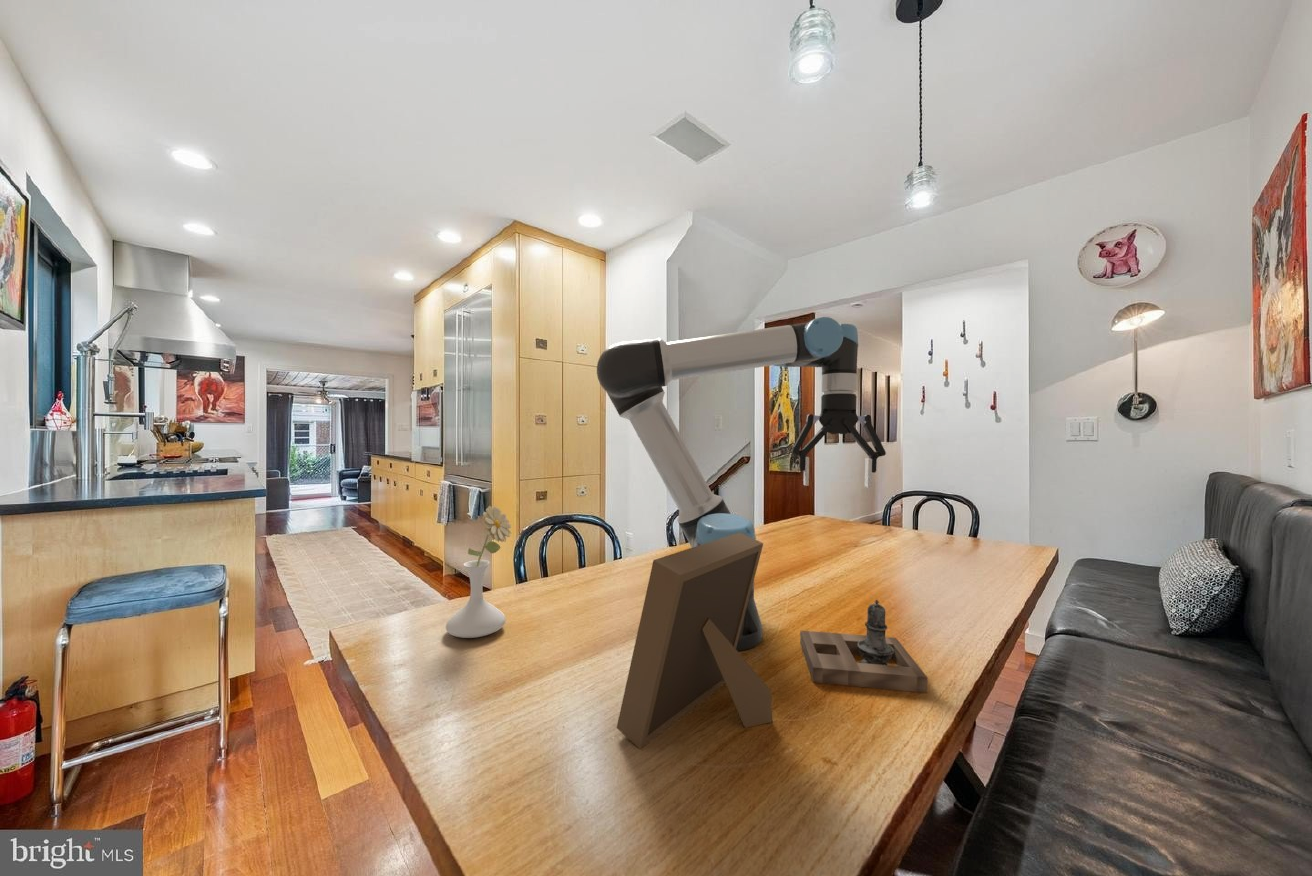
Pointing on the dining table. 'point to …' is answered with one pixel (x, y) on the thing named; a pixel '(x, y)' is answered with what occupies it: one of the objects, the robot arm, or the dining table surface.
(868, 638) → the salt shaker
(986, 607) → the dining table surface
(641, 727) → the photo frame
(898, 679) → the socket board
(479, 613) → the flower in vase
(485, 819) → the dining table surface
